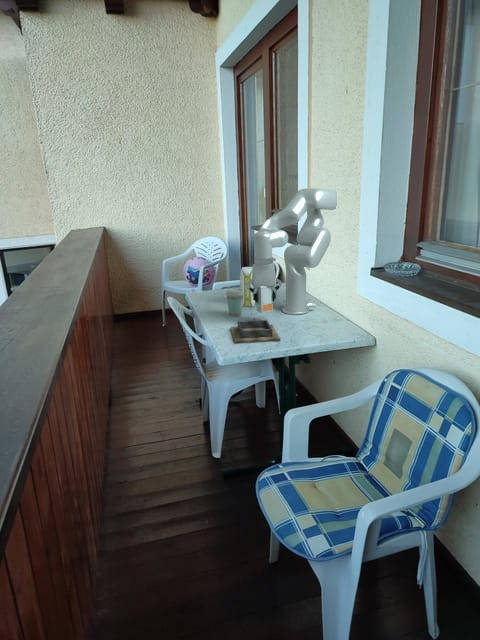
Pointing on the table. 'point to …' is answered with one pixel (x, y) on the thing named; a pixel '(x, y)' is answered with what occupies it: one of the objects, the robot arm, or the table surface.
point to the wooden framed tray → (254, 332)
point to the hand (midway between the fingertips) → (264, 300)
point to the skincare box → (264, 299)
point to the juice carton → (244, 279)
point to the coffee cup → (235, 301)
